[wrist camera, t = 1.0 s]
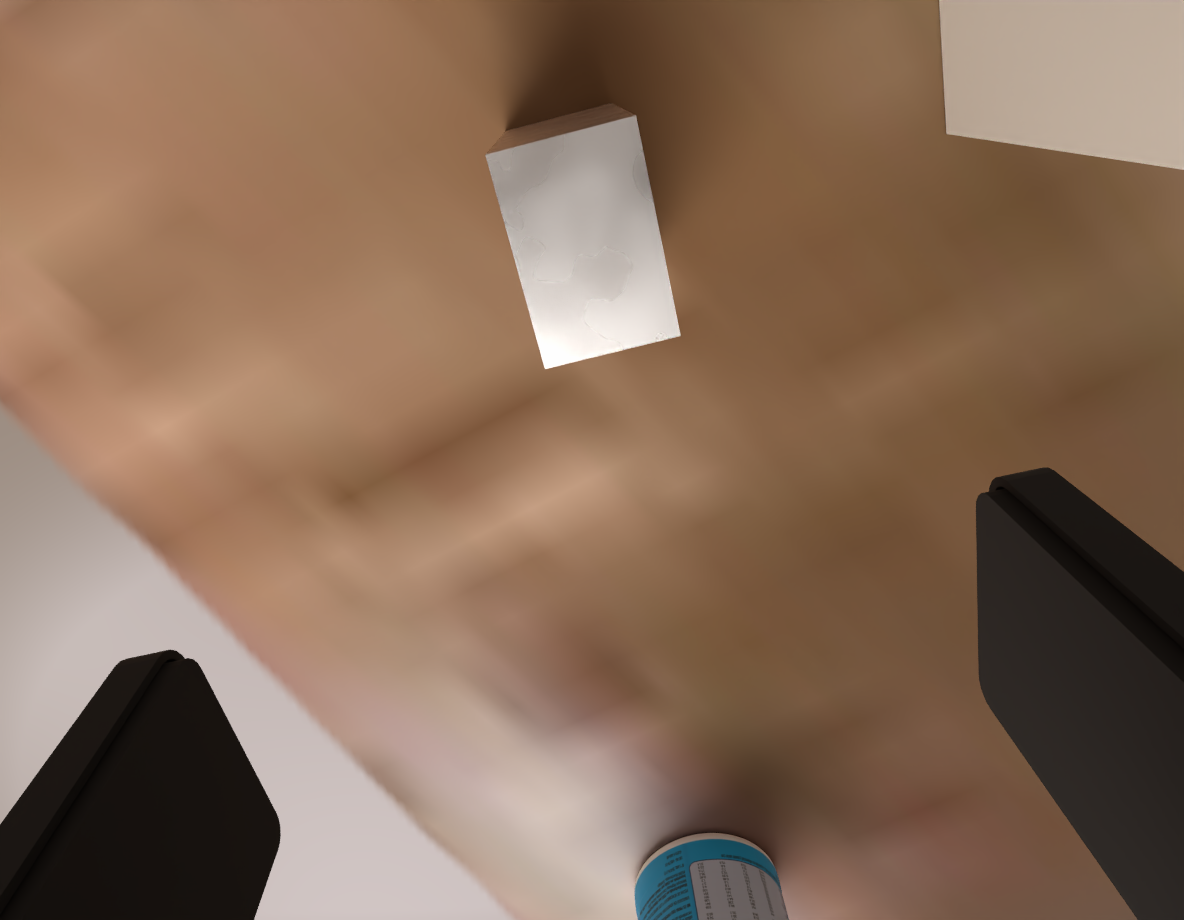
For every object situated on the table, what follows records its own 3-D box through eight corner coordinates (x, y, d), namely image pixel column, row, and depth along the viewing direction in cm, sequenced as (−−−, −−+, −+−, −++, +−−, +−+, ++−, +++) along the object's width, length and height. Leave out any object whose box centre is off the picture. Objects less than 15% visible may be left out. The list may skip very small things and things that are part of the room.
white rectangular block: (611, 103, 30) (635, 115, 21) (645, 263, 33) (680, 335, 24) (505, 131, 31) (485, 154, 22) (547, 288, 33) (544, 368, 24)
